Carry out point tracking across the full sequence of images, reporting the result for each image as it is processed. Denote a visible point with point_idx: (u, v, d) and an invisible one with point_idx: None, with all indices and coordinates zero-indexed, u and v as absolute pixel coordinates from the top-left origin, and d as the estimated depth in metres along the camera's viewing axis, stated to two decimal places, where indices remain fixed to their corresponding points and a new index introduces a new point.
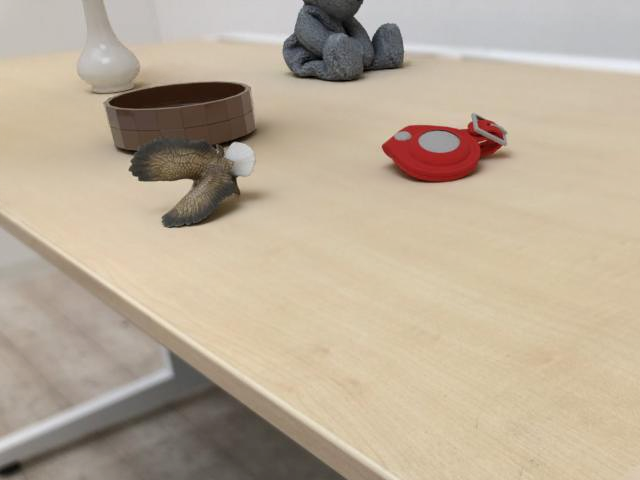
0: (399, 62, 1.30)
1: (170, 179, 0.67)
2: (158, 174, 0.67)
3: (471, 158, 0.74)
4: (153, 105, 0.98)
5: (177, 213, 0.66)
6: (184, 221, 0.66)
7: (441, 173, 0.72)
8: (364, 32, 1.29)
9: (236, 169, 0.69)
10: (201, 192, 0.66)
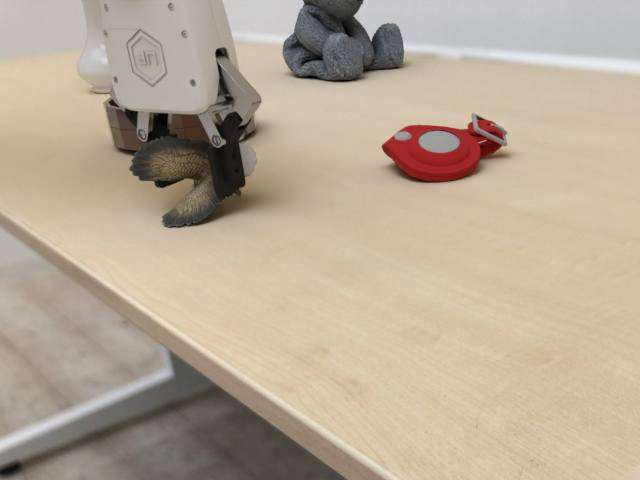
0: (399, 62, 1.30)
1: (171, 179, 0.67)
2: (159, 174, 0.66)
3: (471, 158, 0.74)
4: None
5: (177, 213, 0.66)
6: (185, 221, 0.66)
7: (441, 173, 0.72)
8: (364, 32, 1.29)
9: None
10: (201, 192, 0.66)
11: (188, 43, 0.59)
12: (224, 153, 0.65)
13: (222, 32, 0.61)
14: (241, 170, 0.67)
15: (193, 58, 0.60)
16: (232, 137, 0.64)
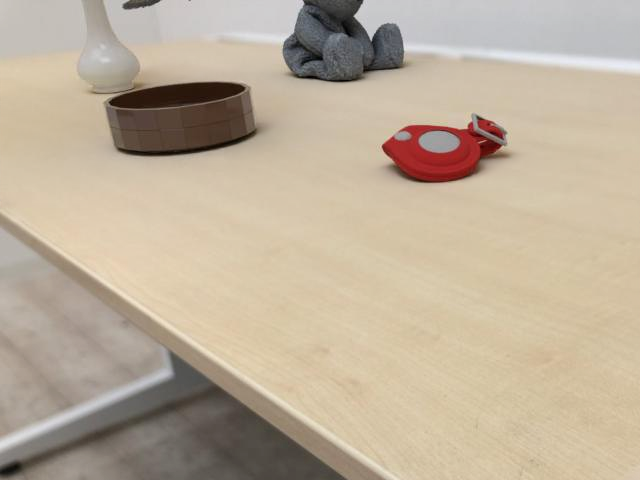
0: (399, 62, 1.30)
1: None
2: None
3: (471, 158, 0.74)
4: (153, 105, 0.98)
5: (135, 0, 0.82)
6: (140, 5, 0.81)
7: (441, 173, 0.72)
8: (364, 32, 1.29)
9: None
10: None
11: None
12: None
13: None
14: None
15: None
16: None
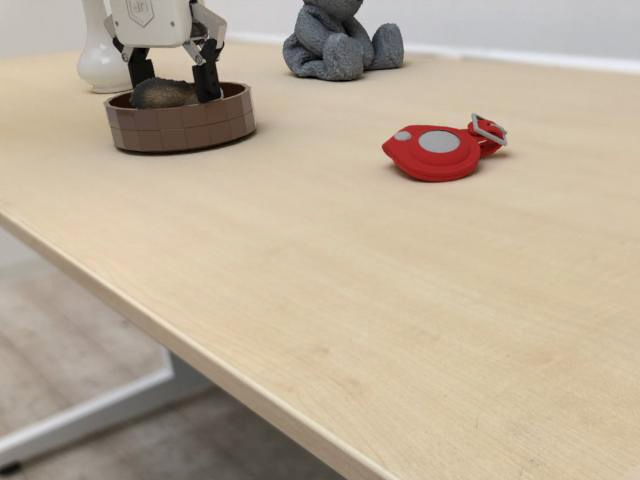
0: (399, 62, 1.30)
1: None
2: (151, 105, 0.91)
3: (471, 158, 0.74)
4: None
5: None
6: None
7: (441, 173, 0.72)
8: (364, 32, 1.29)
9: None
10: None
11: None
12: (204, 70, 0.87)
13: None
14: (217, 84, 0.89)
15: (173, 5, 0.83)
16: (210, 58, 0.87)
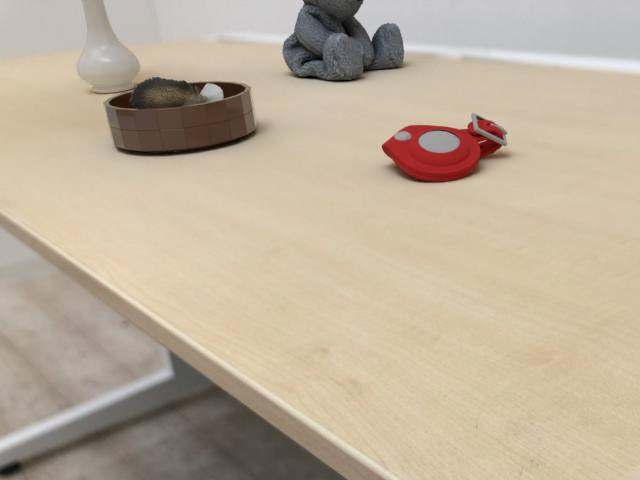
0: (399, 62, 1.30)
1: None
2: (151, 105, 0.91)
3: (471, 158, 0.74)
4: None
5: None
6: None
7: (441, 173, 0.72)
8: (364, 32, 1.29)
9: None
10: None
11: None
12: None
13: None
14: None
15: None
16: None
